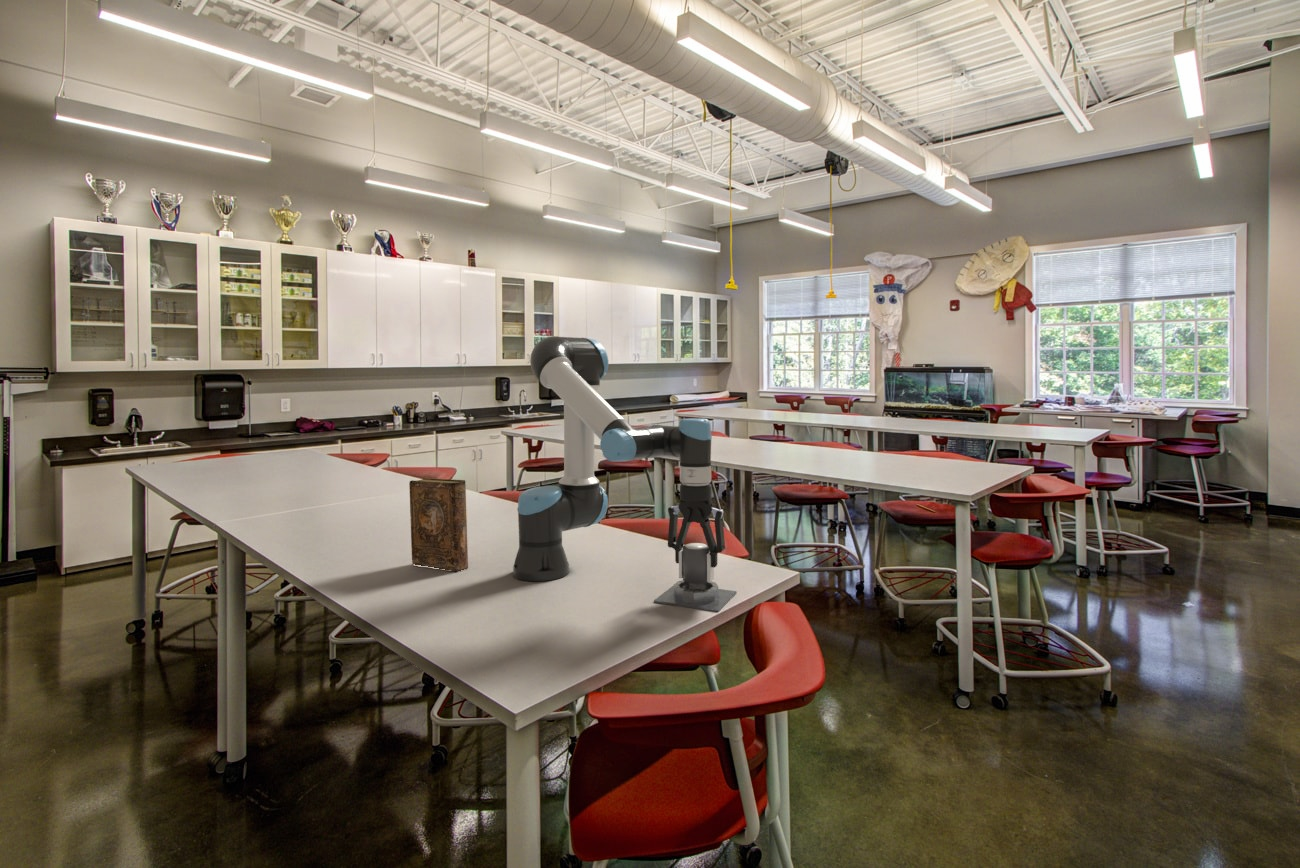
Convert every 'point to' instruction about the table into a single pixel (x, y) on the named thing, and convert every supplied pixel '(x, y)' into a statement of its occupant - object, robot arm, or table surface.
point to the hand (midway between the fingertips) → (696, 578)
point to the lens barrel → (695, 563)
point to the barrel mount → (696, 596)
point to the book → (439, 523)
